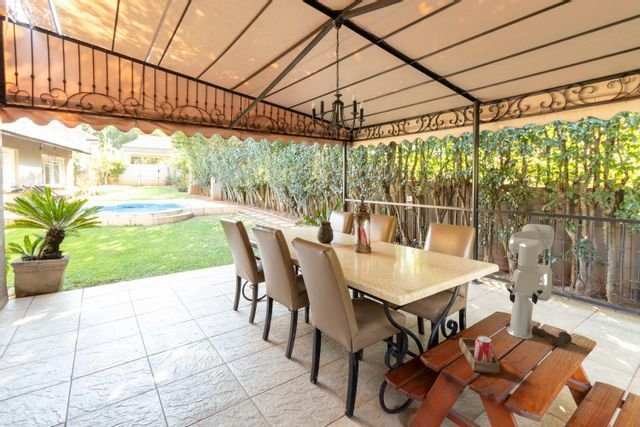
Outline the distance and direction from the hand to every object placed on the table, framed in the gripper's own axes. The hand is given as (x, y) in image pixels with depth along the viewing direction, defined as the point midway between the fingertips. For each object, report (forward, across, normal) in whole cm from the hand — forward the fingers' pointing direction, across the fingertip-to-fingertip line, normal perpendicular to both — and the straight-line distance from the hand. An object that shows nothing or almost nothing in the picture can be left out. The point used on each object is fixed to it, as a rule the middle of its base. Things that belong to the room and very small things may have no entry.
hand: (523, 302), depth 148 cm
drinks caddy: (+28, +21, +7) cm, 35 cm away
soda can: (+26, +20, +12) cm, 35 cm away
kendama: (+30, -26, -18) cm, 43 cm away
